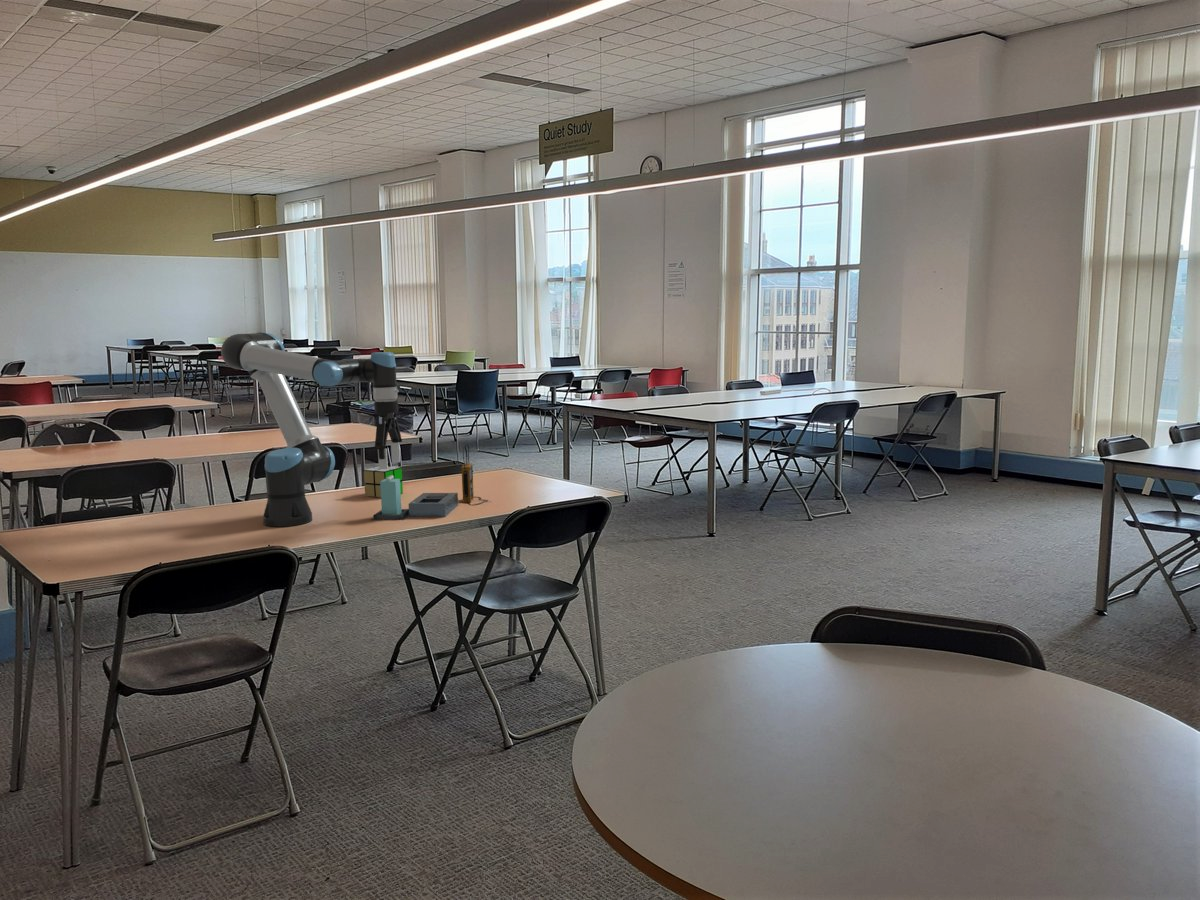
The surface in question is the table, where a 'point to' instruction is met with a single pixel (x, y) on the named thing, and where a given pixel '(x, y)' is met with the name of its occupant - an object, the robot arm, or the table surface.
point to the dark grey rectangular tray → (391, 515)
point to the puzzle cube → (379, 479)
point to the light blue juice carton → (390, 496)
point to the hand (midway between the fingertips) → (390, 465)
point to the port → (433, 505)
